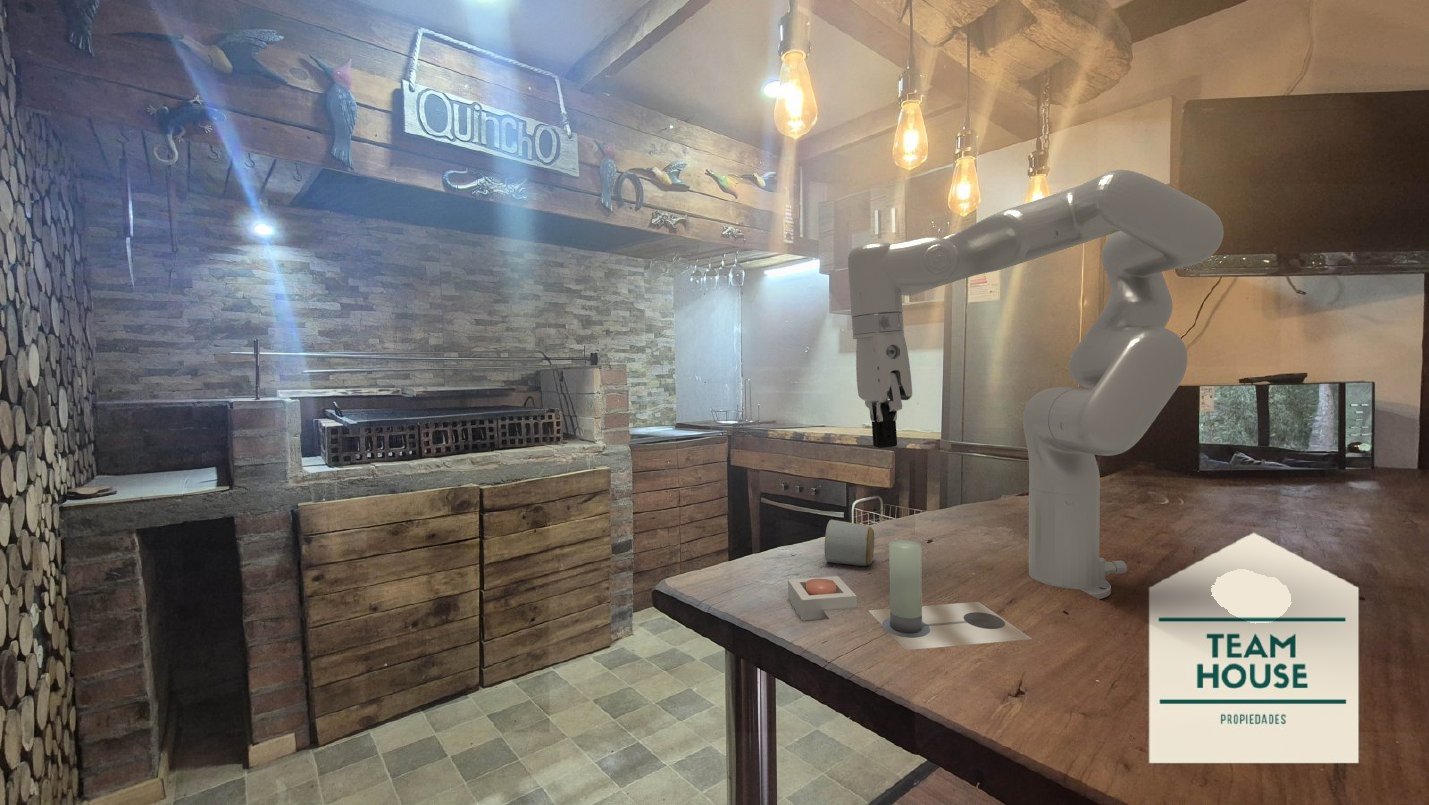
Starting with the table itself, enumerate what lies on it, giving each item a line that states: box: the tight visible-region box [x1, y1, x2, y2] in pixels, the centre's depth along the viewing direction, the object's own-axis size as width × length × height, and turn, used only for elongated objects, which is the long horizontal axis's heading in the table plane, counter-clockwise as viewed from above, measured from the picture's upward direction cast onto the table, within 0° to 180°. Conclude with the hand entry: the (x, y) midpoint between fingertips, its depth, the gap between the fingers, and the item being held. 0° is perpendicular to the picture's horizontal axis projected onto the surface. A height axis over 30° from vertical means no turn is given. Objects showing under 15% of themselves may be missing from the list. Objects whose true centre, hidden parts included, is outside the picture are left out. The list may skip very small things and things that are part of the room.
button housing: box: [787, 575, 858, 622], centre depth 85 cm, size 8×8×3 cm
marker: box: [888, 539, 923, 634], centre depth 74 cm, size 4×4×11 cm
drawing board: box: [868, 601, 1033, 651], centre depth 75 cm, size 18×13×1 cm
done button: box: [806, 579, 836, 595], centre depth 85 cm, size 4×4×2 cm
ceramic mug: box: [824, 519, 875, 567], centre depth 105 cm, size 11×8×8 cm
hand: (885, 446), depth 88 cm, fingers closed
